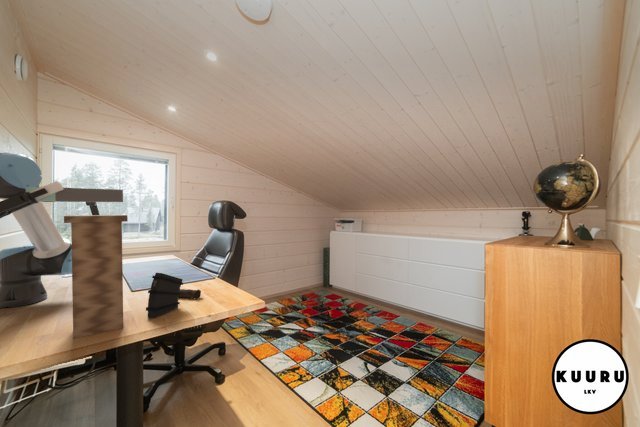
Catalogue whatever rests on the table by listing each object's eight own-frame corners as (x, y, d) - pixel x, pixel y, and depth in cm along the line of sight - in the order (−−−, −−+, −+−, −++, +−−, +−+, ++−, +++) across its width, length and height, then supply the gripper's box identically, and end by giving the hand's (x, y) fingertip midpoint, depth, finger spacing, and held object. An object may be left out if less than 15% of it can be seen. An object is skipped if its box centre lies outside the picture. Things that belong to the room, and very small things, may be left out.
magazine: (137, 316, 93) (153, 272, 99) (167, 319, 105) (180, 280, 111) (146, 317, 92) (162, 272, 98) (175, 320, 103) (187, 280, 109)
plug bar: (25, 201, 77) (25, 186, 76) (29, 201, 80) (29, 187, 80) (123, 201, 90) (122, 189, 90) (122, 202, 93) (122, 190, 93)
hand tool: (201, 297, 119) (201, 287, 119) (195, 300, 115) (195, 289, 115) (165, 294, 124) (165, 284, 124) (158, 297, 120) (158, 286, 120)
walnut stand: (66, 340, 80) (63, 216, 79) (70, 328, 88) (68, 215, 87) (129, 326, 89) (127, 215, 88) (127, 317, 97) (126, 214, 96)
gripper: (-21, 237, 78) (73, 197, 90) (-49, 243, 65) (66, 195, 77) (-43, 214, 76) (57, 177, 88) (-76, 215, 62) (47, 171, 74)
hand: (61, 185), depth 82 cm, fingers closed on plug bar, 4 cm apart
